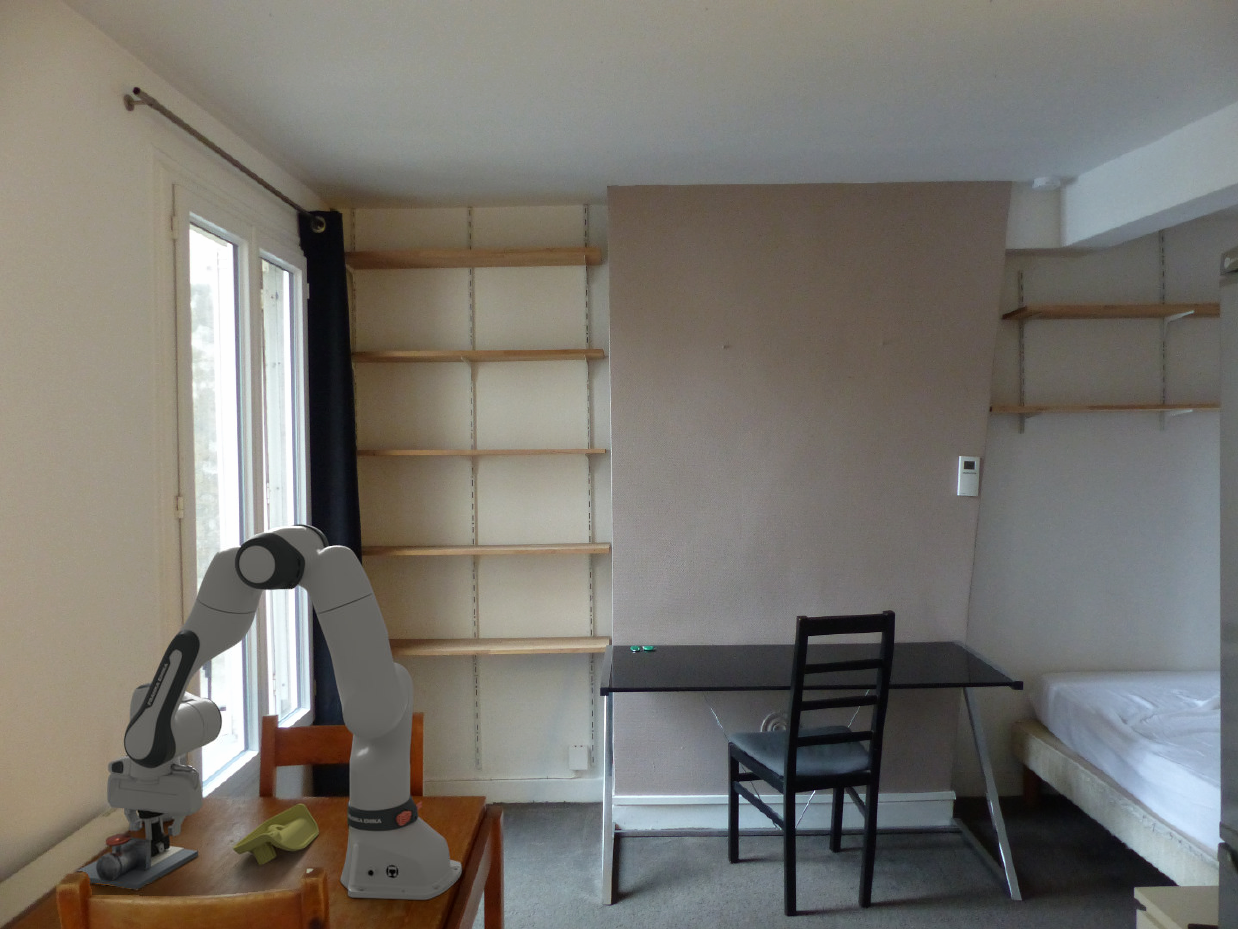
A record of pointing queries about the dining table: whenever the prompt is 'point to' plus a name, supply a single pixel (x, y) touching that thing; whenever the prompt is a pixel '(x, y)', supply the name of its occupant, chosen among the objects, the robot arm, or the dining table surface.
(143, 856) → the fitting
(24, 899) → the dining table surface
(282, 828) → the plastic component
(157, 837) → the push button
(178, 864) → the board
